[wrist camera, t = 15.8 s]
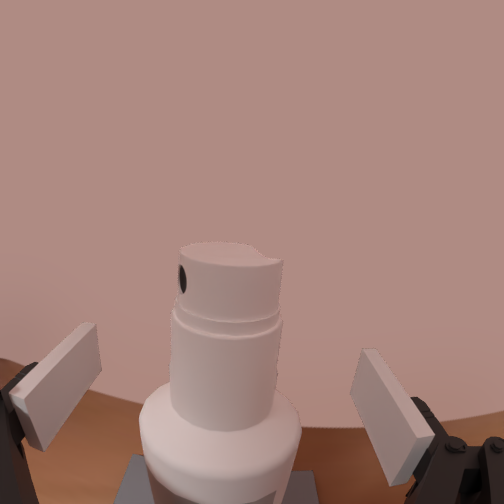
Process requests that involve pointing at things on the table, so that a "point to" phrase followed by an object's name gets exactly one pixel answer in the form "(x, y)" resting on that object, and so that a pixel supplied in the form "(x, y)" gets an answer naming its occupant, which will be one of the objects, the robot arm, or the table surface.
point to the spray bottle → (222, 385)
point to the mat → (141, 499)
